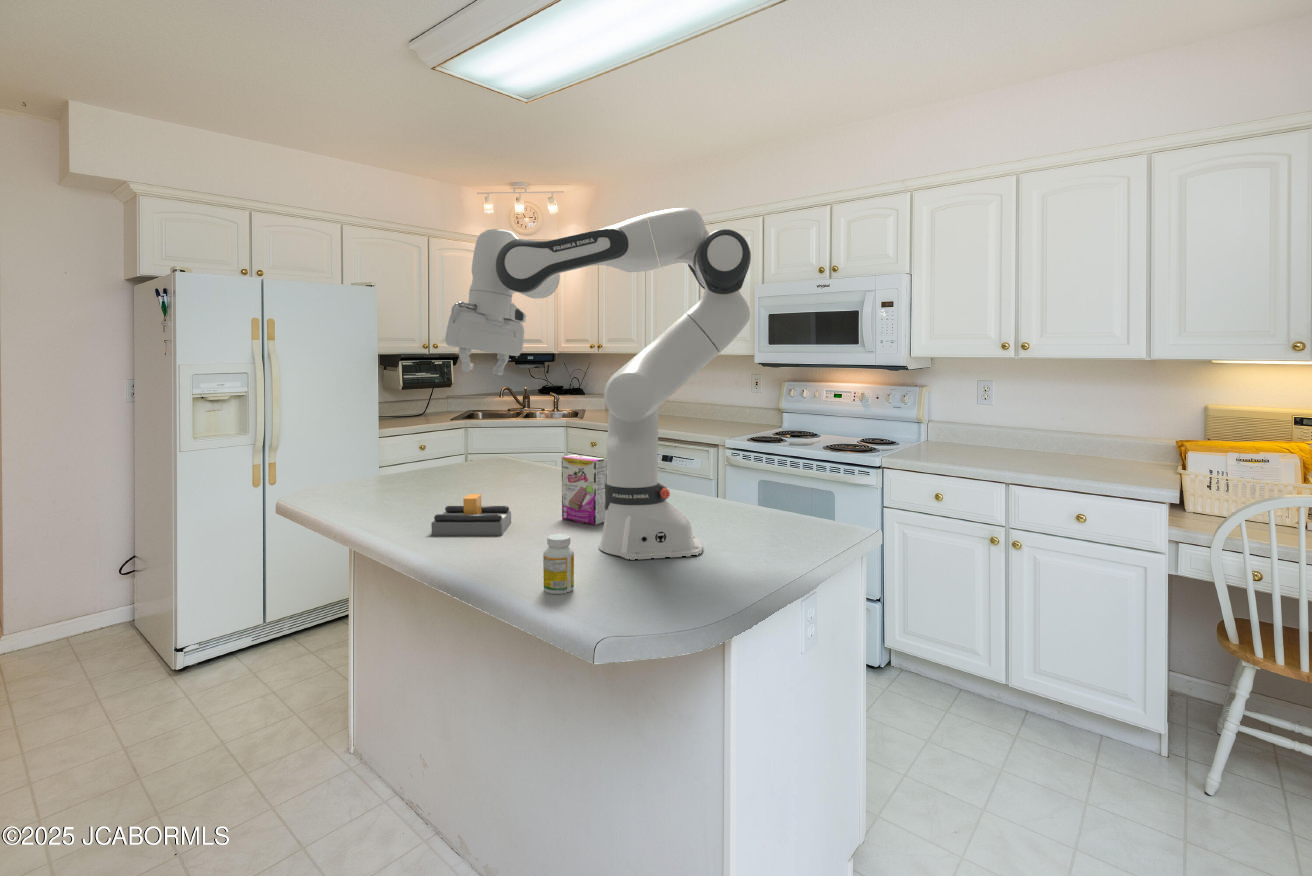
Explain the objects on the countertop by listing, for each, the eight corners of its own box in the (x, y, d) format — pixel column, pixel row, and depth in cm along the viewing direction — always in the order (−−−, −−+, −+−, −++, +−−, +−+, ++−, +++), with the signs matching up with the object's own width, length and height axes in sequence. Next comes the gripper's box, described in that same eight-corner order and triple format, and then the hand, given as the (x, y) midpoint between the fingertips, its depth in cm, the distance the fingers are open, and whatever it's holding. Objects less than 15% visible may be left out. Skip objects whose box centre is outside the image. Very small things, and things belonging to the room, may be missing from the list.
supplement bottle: (557, 597, 109) (556, 542, 108) (537, 590, 113) (536, 537, 112) (580, 589, 114) (580, 536, 112) (560, 582, 117) (560, 531, 116)
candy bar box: (560, 519, 164) (560, 456, 162) (573, 516, 168) (573, 454, 166) (595, 526, 158) (595, 460, 156) (607, 522, 162) (607, 457, 160)
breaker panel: (511, 522, 160) (511, 504, 160) (501, 535, 148) (501, 516, 148) (446, 522, 159) (445, 504, 159) (431, 535, 148) (431, 516, 147)
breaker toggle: (481, 512, 156) (481, 494, 155) (476, 517, 151) (476, 498, 150) (469, 512, 156) (468, 494, 155) (463, 517, 151) (463, 498, 150)
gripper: (465, 300, 125) (458, 370, 126) (531, 316, 143) (524, 377, 145) (441, 298, 128) (435, 367, 129) (509, 314, 146) (502, 374, 147)
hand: (482, 373), depth 137 cm, fingers open, 8 cm apart
